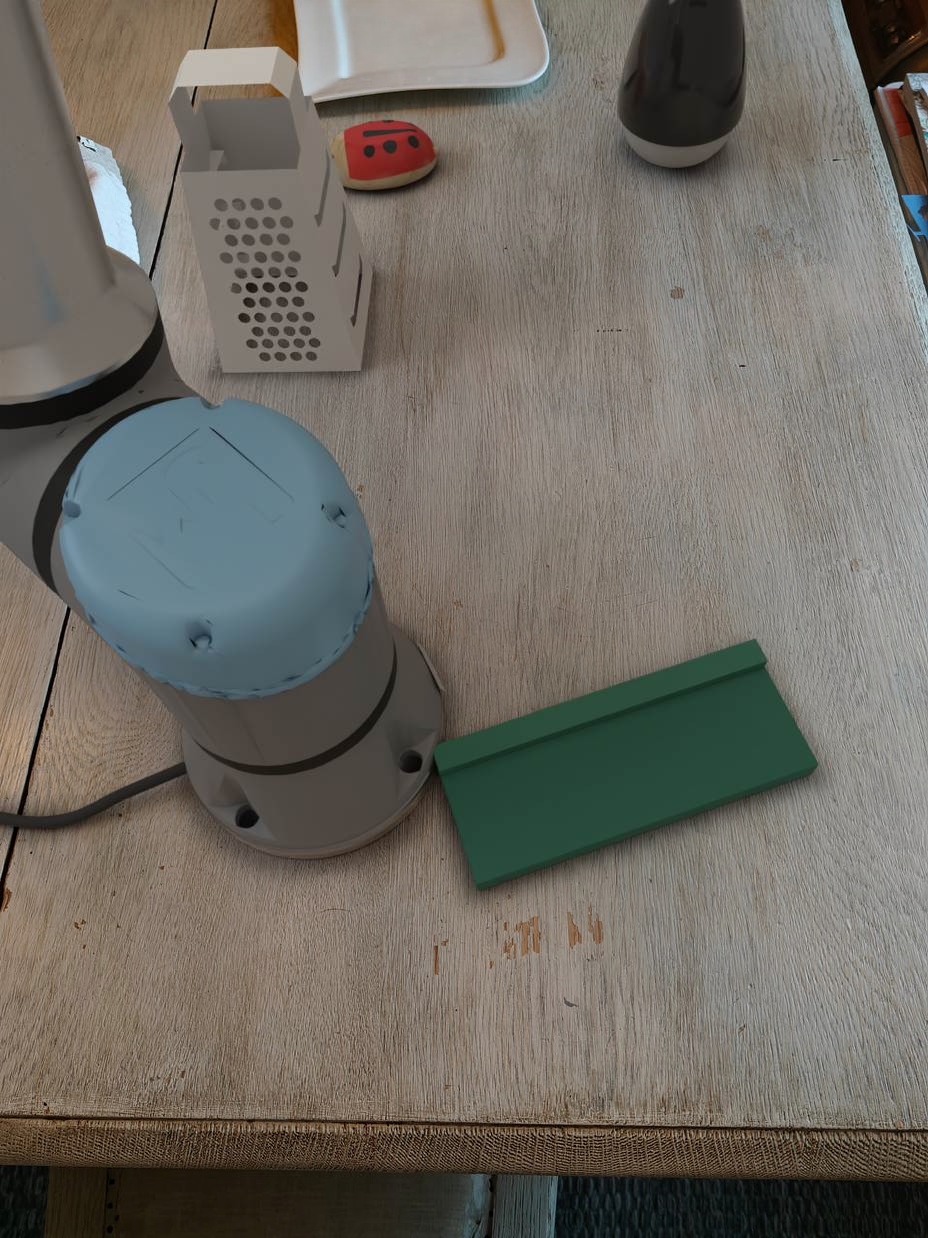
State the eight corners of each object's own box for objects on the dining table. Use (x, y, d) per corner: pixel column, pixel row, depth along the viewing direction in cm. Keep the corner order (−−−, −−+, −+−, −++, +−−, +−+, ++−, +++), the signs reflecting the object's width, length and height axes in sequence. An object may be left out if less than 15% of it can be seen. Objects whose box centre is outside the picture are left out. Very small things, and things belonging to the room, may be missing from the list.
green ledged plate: (478, 891, 52) (476, 881, 50) (434, 760, 56) (430, 746, 54) (812, 773, 54) (823, 759, 52) (747, 655, 58) (755, 637, 56)
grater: (360, 370, 71) (304, 117, 54) (222, 372, 72) (123, 124, 55) (372, 272, 76) (325, 12, 59) (244, 275, 77) (159, 19, 60)
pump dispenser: (716, 101, 84) (750, -95, 71) (749, 176, 79) (792, -20, 66) (602, 118, 84) (614, -75, 71) (627, 194, 79) (646, 1, 66)
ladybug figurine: (325, 153, 84) (317, 115, 81) (436, 138, 84) (433, 99, 81) (329, 202, 81) (321, 165, 78) (444, 187, 81) (441, 148, 78)
